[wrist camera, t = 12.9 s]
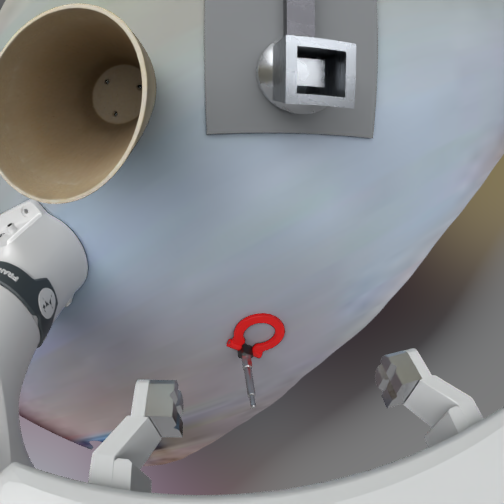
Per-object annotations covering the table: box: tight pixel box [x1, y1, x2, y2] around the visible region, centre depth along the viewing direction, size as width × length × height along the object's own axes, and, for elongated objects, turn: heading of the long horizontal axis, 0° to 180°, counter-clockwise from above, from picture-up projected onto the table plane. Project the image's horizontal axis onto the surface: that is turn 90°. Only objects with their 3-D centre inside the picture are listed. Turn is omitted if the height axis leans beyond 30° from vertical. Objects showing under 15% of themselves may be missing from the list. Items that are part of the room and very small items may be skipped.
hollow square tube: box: [272, 35, 356, 109], centre depth 23 cm, size 6×6×7 cm
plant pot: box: [0, 4, 156, 204], centre depth 21 cm, size 15×15×16 cm
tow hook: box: [227, 313, 285, 408], centre depth 44 cm, size 8×13×9 cm
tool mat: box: [205, 0, 378, 138], centre depth 26 cm, size 20×26×1 cm
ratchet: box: [256, 0, 327, 114], centre depth 23 cm, size 22×9×6 cm, turn 0°
